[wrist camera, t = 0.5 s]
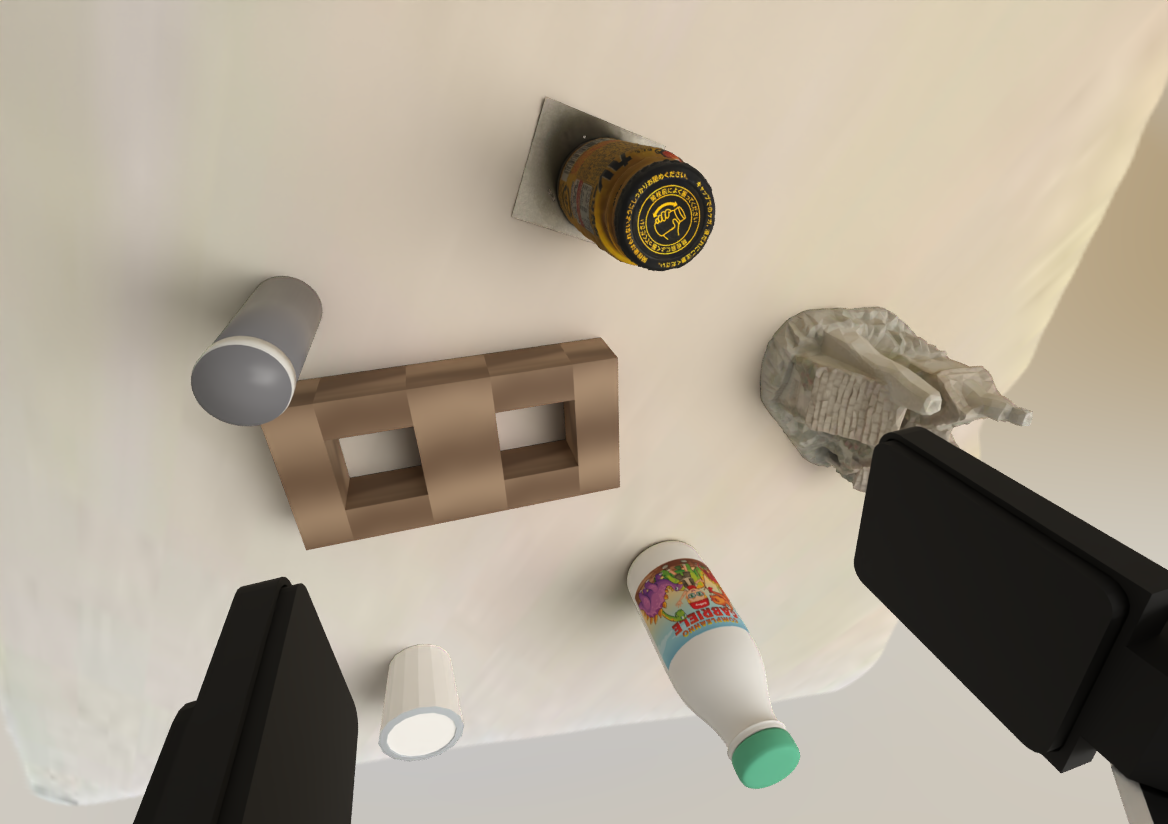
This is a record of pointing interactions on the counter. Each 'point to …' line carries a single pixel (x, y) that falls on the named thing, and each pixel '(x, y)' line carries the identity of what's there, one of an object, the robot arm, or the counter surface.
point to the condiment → (614, 190)
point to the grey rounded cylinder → (259, 354)
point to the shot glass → (420, 705)
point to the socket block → (447, 439)
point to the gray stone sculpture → (868, 387)
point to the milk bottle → (711, 659)
